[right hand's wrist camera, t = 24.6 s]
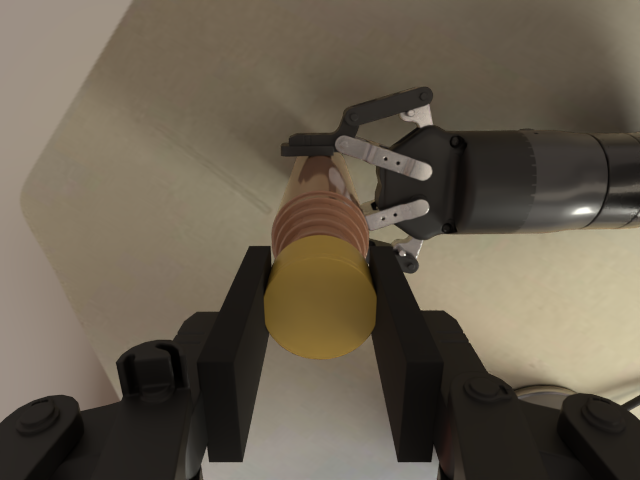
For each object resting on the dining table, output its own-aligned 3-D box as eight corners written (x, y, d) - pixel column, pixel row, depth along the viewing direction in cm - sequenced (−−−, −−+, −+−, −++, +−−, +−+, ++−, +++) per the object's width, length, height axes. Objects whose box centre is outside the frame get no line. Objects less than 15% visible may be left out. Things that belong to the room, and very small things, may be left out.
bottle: (343, 196, 37) (379, 362, 14) (293, 192, 37) (249, 352, 14) (348, 145, 35) (399, 240, 13) (296, 140, 35) (252, 229, 12)
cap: (369, 325, 15) (376, 359, 13) (272, 326, 15) (265, 360, 13) (372, 233, 14) (381, 256, 12) (266, 235, 14) (258, 258, 12)
